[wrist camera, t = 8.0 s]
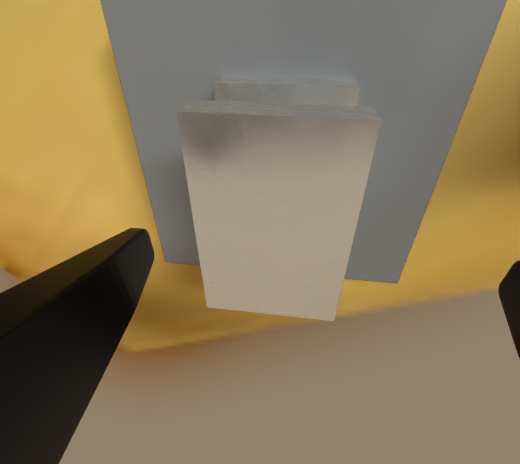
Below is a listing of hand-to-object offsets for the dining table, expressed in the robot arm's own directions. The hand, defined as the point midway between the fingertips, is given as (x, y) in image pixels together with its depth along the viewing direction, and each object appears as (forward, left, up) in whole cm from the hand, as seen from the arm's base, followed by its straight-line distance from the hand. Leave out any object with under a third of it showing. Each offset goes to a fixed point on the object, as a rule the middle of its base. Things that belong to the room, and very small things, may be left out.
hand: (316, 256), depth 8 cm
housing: (+1, +2, -9) cm, 9 cm away
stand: (+2, +2, -12) cm, 12 cm away
